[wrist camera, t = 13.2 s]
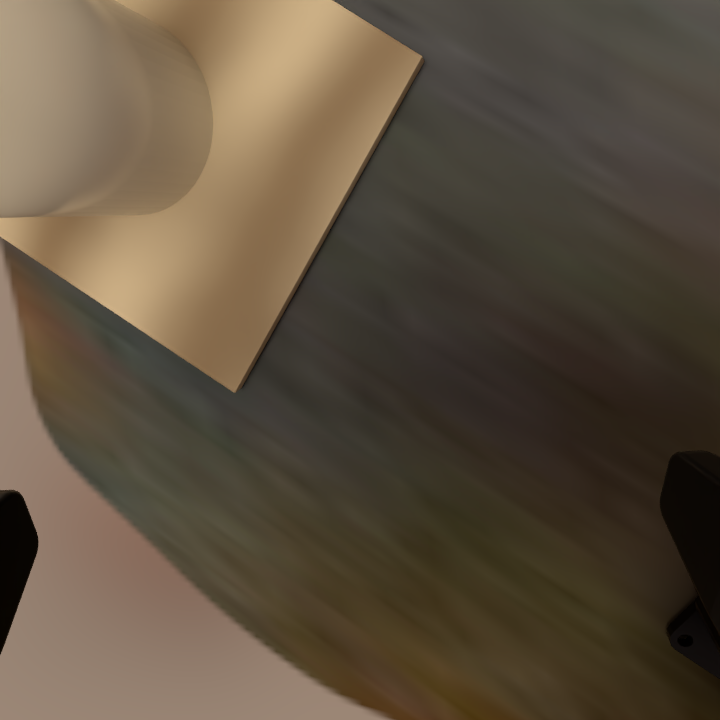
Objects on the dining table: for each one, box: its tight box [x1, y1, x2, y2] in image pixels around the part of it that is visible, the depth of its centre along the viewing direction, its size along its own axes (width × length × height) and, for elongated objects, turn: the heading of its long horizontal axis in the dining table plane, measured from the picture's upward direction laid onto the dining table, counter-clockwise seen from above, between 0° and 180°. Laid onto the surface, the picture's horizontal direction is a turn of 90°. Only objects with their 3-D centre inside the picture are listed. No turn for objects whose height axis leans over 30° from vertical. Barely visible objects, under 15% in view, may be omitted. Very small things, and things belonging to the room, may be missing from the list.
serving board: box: [0, 0, 424, 393], centre depth 20 cm, size 16×13×1 cm
